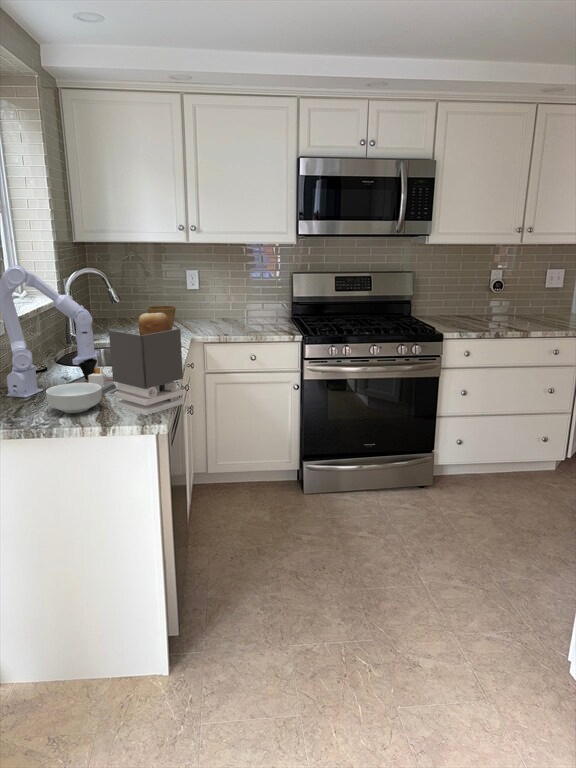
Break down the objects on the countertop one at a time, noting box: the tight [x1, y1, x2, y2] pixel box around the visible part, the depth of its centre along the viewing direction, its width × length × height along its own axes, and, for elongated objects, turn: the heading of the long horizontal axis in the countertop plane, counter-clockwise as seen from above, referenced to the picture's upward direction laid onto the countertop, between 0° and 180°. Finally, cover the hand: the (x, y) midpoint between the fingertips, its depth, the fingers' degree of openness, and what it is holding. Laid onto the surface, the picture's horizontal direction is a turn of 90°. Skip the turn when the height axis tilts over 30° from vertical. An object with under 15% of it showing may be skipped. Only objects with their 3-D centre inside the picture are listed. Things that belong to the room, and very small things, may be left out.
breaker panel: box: [73, 373, 116, 395], centre depth 206 cm, size 21×16×6 cm
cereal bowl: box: [45, 383, 103, 414], centre depth 180 cm, size 17×17×7 cm
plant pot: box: [146, 305, 176, 330], centre depth 304 cm, size 15×15×16 cm
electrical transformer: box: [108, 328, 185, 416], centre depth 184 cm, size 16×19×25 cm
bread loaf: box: [138, 312, 170, 335], centre depth 221 cm, size 14×13×25 cm
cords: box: [65, 375, 119, 395], centre depth 210 cm, size 19×22×1 cm
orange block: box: [87, 366, 101, 381], centre depth 210 cm, size 3×4×4 cm
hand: (88, 379), depth 207 cm, fingers closed
